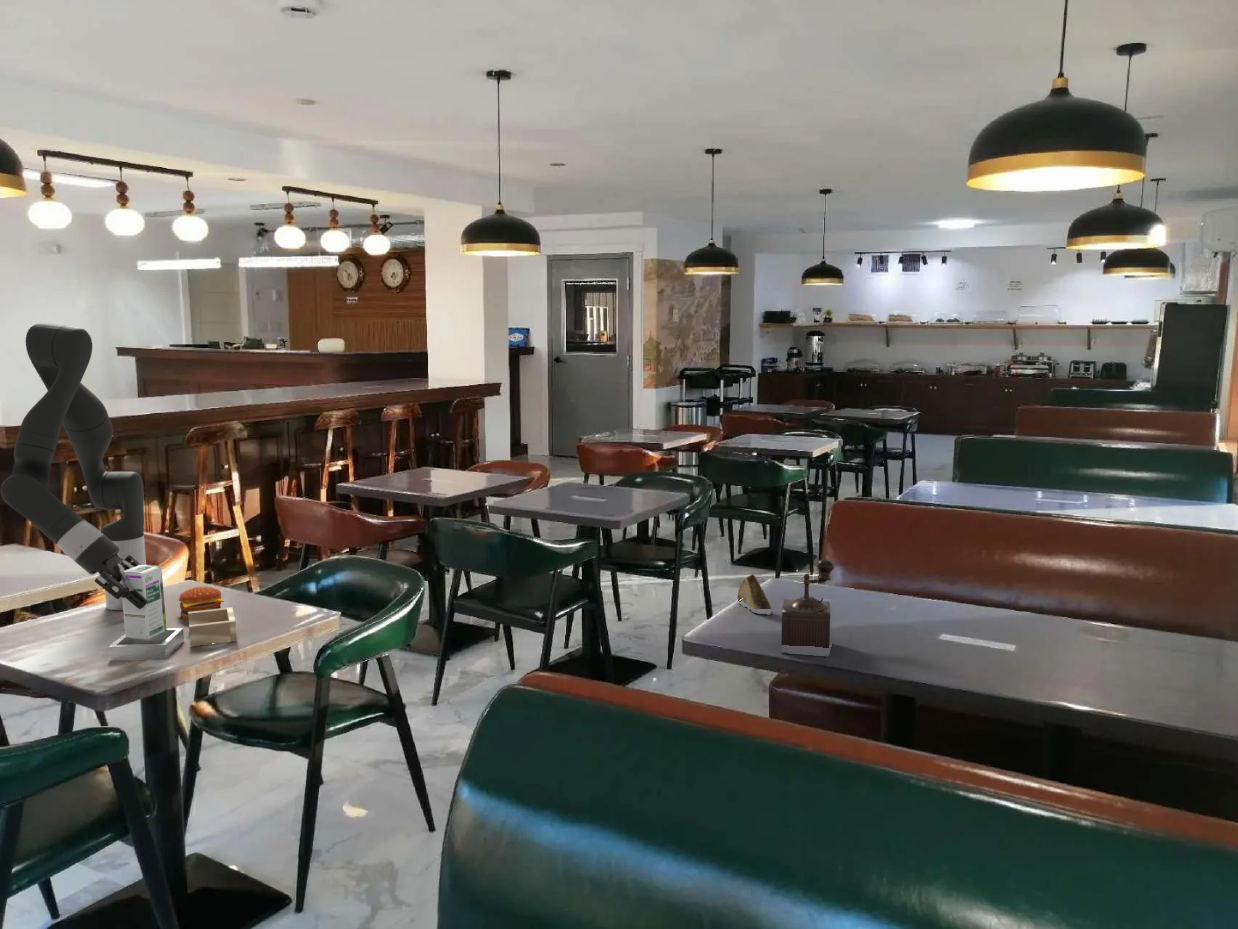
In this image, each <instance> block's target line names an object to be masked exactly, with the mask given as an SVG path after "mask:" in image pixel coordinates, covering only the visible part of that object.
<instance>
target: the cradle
mask: <svg viewBox="0 0 1238 929" xmlns="http://www.w3.org/2000/svg"><path fill="white" fill-rule="evenodd" d="M234 612H235V611H234V609H233V606H230V607H221V608H220V609H211V610H202V611H194V612H188V617H189V620H188V631H189V632H188V633H189V642H190V644H189V645H190V646H195V647H201V646H200V645H203V646H208V645H207V644H211V645H213V644H212V643H219V644H225V642H226V643H232V642H231V641H234V642H237V640H238V638H237V625H236V624H237V622H236V617H235V613H234ZM205 644H206V645H205Z"/></svg>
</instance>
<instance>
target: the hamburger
mask: <svg viewBox="0 0 1238 929" xmlns="http://www.w3.org/2000/svg"><path fill="white" fill-rule="evenodd" d="M176 600H177V601H179V602H180V603H179V608H180V618H181V617H182V618H181V619H183V618H184V619H183V620H185V619H189V617H188V612H194V611H202V610H211V609H220V608H222V607H221V604H222V603H224V602H225V601H224V599H223V598H222V592H221V591H220V590H219V589H218V588H215V587H211V586H197V587H192V588H190V589H186V590H184V591H183V592H181V593H180V594H179V597H177V598H176Z"/></svg>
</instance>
